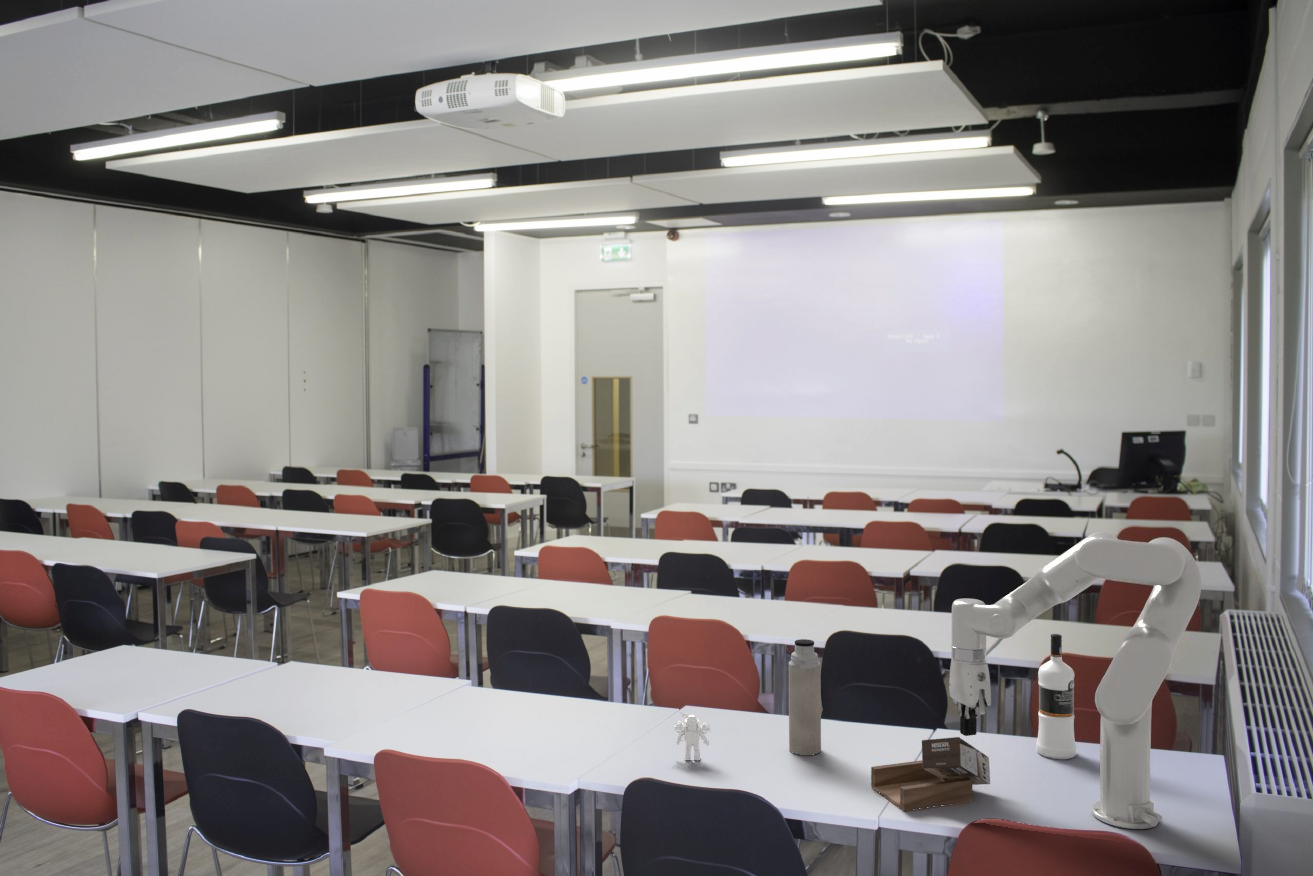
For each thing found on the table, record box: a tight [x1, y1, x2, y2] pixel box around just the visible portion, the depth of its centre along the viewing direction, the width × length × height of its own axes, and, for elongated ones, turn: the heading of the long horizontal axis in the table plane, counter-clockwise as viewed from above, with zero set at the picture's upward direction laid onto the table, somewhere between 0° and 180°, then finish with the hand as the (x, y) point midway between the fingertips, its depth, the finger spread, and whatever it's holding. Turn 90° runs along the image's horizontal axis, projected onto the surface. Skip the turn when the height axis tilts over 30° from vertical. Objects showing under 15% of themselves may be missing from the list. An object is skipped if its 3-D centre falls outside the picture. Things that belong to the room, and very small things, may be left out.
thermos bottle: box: [788, 638, 822, 756], centre depth 247 cm, size 8×8×28 cm
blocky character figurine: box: [673, 711, 712, 761], centre depth 242 cm, size 9×4×12 cm, turn 80°
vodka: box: [1035, 633, 1077, 761], centre depth 243 cm, size 9×9×30 cm
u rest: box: [870, 760, 973, 812], centre depth 218 cm, size 14×17×5 cm
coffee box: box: [921, 736, 991, 786], centre depth 217 cm, size 9×6×16 cm
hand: (968, 734), depth 222 cm, fingers closed
